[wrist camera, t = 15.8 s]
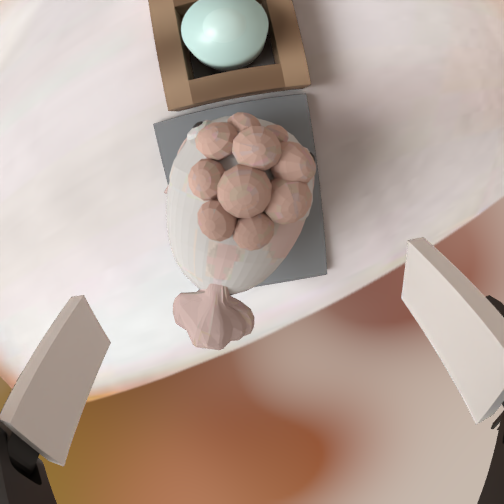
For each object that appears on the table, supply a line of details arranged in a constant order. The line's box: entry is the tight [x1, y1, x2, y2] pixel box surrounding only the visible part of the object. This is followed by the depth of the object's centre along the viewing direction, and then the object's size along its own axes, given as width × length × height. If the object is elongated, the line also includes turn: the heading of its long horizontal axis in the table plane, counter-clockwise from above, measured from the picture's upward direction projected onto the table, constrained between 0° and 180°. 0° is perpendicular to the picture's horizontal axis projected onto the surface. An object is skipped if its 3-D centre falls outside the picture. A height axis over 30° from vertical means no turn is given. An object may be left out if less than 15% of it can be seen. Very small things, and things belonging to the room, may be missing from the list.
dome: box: [181, 0, 268, 70], centre depth 15 cm, size 6×6×4 cm
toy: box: [164, 112, 316, 350], centre depth 19 cm, size 10×15×10 cm, turn 164°
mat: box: [153, 94, 327, 290], centre depth 23 cm, size 16×12×1 cm
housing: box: [148, 0, 311, 111], centre depth 16 cm, size 10×10×3 cm
